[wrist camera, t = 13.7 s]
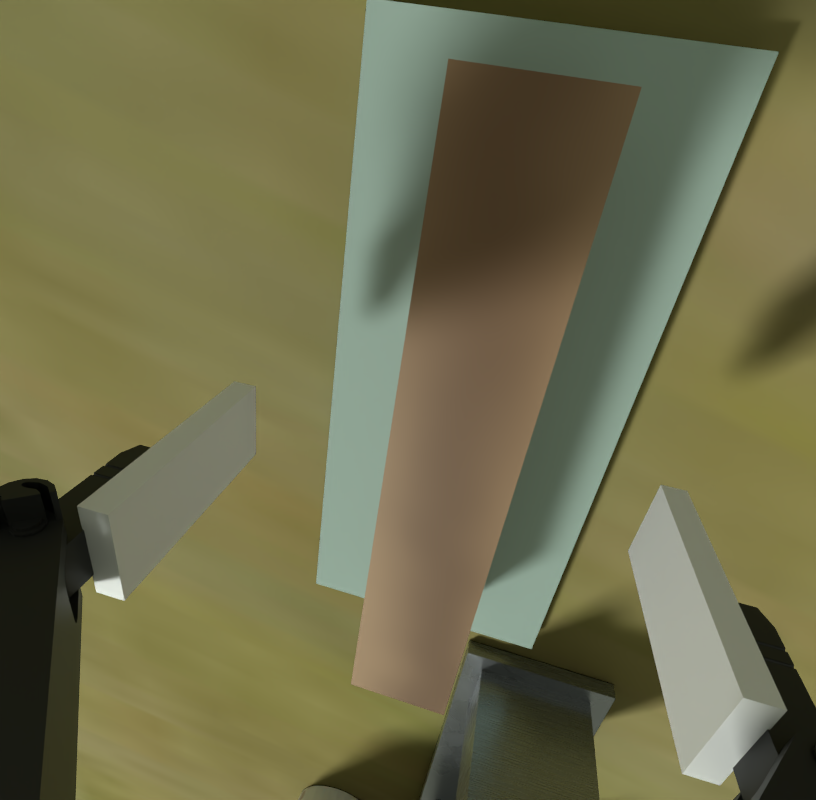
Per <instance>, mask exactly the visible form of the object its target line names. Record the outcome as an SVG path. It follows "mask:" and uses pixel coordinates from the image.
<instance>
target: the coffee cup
mask: <svg viewBox="0 0 816 800" xmlns="http://www.w3.org/2000/svg"><path fill="white" fill-rule="evenodd" d="M298 800H358V799H356V798H355V797H353V796H352V795H350V794H348V793H346V792H343V791H341V790H339V789H335V788H332V787H327V786H311V787H307V788H306V789H304V790H303V791H302V793H301V795H300V797H299V799H298Z"/></svg>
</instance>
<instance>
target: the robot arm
mask: <svg viewBox="0 0 816 800" xmlns="http://www.w3.org/2000/svg"><path fill="white" fill-rule="evenodd" d="M255 454H256V386H252V385H248V384H244V383H239V382H235V381H234V382H233V383H232V384H231V385H229V386H228V387H227V388H225V389H224V390H223V391H222V392H220V393H219V394H218V395H217V396H215V397H214V398H213V399H212V400H210V401H209V402H208V403H207V404H205V405H204V406H203V407H201V408H200V409H199V410H198V411H196V412H195V413H194V414H193V415H191V416H190V417H189V418H188V419H186V420H185V421H184V422H182V423H181V424H180V425H179V426H177V427H176V428H175V429H174V430H172V431H171V432H170V433H169V434H167V435H166V436H165V437H164V438H162V439H161V440H160V441H158V442H157V443H156V444H155V445H153V446H152V447H151V448H150V447H146V446H143V445H139V446H136V447H134V448H131V449H129V450H126V451H124V452H121V453H120V454H118V455H117V456H116V457H114V458H113V459H112V460H110V461H109V462H108V463H106V466H102V467H101V468H100V469H98V470H97V471H96V472H94V475H90V476H89V477H88V478H86V479H85V480H84V481H82V482H81V483H80V484H78V485H77V486H76V487H74V488H73V489H72V490H70V491H69V492H68V493H66V494H65V495H64V496H62V497H61V498H59V499H58V496H57V492H56V489H55V485H54V484H52V483H51V482H49V481H48V480H43V479H38V478H33V479H21V480H17V481H13V482H9V483H7V484H4V485H2V486H0V800H75V795H76V766H77V737H78V708H79V680H80V651H81V622H82V593H81V589H80V587H81V586H82V585H83V584H84V583H85V582H87V581H88V580H89V579H90V578H91V577H92V576H93V579H94V584H95V588H96V592H98V593H101V594H104V595H107V596H111V597H114V598H117V599H120V600H123V601H125V600H126V599H127V597H128V596H129V595H130V594H131V593H132V592H133V591H134V590H135V588H136V587H137V586H138V585H139V584H140V583H141V582H142V581H143V580H144V578H145V577H146V576H147V575H148V574H149V573H150V572H151V571H152V569H153V568H154V567H155V566H156V565H157V564H158V563H159V562H160V561H161V559H162V558H163V557H164V556H165V555H166V554H167V553H168V552H169V550H170V549H171V548H172V547H173V546H174V545H175V544H176V543H177V542H178V540H179V539H180V538H181V537H182V536H183V535H184V534H185V533H186V531H187V530H188V529H189V528H190V527H191V526H192V525H193V524H194V523H195V521H196V520H197V519H198V518H199V517H200V516H201V515H202V514H203V512H204V511H205V510H206V509H207V508H208V507H209V506H210V505H211V504H212V502H213V501H214V500H215V499H216V498H217V497H218V496H219V495H220V493H221V492H222V491H223V490H224V489H225V488H226V487H227V486H228V485H229V483H230V482H231V481H232V480H233V479H234V478H235V477H236V476H237V474H238V473H239V472H240V471H241V470H242V469H243V468H244V467H245V466H246V464H247V463H248V462H249V461H250V460H251V459H252V458H253V457H254V455H255ZM628 552H629V556H630V560H631V565H632V569H633V573H634V577H635V581H636V585H637V589H638V594H639V598H640V602H641V606H642V610H643V614H644V618H645V622H646V627H647V631H648V635H649V639H650V643H651V647H652V651H653V655H654V660H655V664H656V668H657V672H658V676H659V680H660V684H661V688H662V693H663V697H664V701H665V705H666V709H667V713H668V717H669V721H670V726H671V730H672V734H673V738H674V742H675V746H676V750H677V754H678V759H679V763H680V767H681V771H682V774H685V775H688V776H691V777H694V778H698V779H701V780H704V781H707V782H711V783H714V784H717V785H721V784H722V783H723V782H724V780H725V779H726V778H727V777H728V776H729V775H730V774H731V773H732V772H733V770H734V773H735V776H736V779H737V782H738V785H739V789H740V793H739V794H738V795H737V796H736V797H735V798H734V799H733V800H816V707H815V705H814V703H813V702H812V700H811V698H810V696H809V694H808V692H807V690H806V688H805V686H804V684H803V682H802V680H801V678H800V676H799V674H798V672H797V670H796V669H794V664H793V662H792V660H791V658H790V656H789V654H788V652H785V647H784V645H783V643H782V641H781V639H780V637H779V635H778V633H777V631H776V629H775V627H774V626H773V625H772V624H771V623H770V622H769V621H768V619H767V618H766V617H765V616H764V615H763V614H762V613H761V612H760V610H759V609H758V608H756V607H753V606H749V605H745V604H741V603H738V601H737V599H736V597H735V595H734V593H733V590H732V588H731V586H730V584H729V582H728V579H727V577H726V575H725V573H724V571H723V569H722V566H721V564H720V562H719V560H718V558H717V555H716V553H715V551H714V549H713V547H712V544H711V542H710V540H709V538H708V536H707V533H706V531H705V529H704V527H703V525H702V522H701V520H700V518H699V516H698V514H697V511H696V509H695V507H694V505H693V503H692V501H691V498H690V496H689V494H688V492H687V491H685V490H681V489H676V488H672V487H668V486H664V485H660V487H659V489H658V492H657V494H656V496H655V498H654V500H653V502H652V504H651V506H650V508H649V510H648V512H647V514H646V516H645V518H644V520H643V522H642V524H641V526H640V528H639V530H638V532H637V534H636V536H635V538H634V540H633V542H632V544H631V546H630V548H629V550H628Z"/></svg>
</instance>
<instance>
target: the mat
mask: <svg viewBox="0 0 816 800" xmlns="http://www.w3.org/2000/svg"><path fill="white" fill-rule="evenodd" d="M778 53H779V52H777V51H769V50H761V49H754V48H746V47H739V46H731V45H723V44H716V43H708V42H701V41H693V40H685V39H678V38H670V37H663V36H655V35H647V34H640V33H632V32H624V31H617V30H609V29H602V28H594V27H586V26H579V25H571V24H564V23H556V22H548V21H541V20H533V19H526V18H518V17H510V16H503V15H495V14H488V13H480V12H472V11H465V10H457V9H449V8H442V7H434V6H427V5H419V4H411V3H404V2H396V1H389V0H367V4H366V16H365V27H364V39H363V50H362V62H361V73H360V85H359V96H358V108H357V119H356V131H355V142H354V154H353V165H352V177H351V188H350V200H349V211H348V223H347V234H346V246H345V257H344V269H343V280H342V292H341V304H340V315H339V327H338V338H337V350H336V361H335V373H334V384H333V396H332V407H331V419H330V430H329V442H328V453H327V465H326V476H325V488H324V499H323V511H322V522H321V534H320V545H319V557H318V568H317V580H316V583H317V584H320V585H323V586H326V587H330V588H333V589H336V590H340V591H343V592H346V593H349V594H353V595H356V596H359V597H362V598H365V592H366V585H367V579H368V572H369V566H370V559H371V553H372V547H373V540H374V534H375V527H376V521H377V514H378V508H379V502H380V495H381V489H382V482H383V476H384V469H385V463H386V457H387V450H388V444H389V437H390V431H391V424H392V418H393V411H394V405H395V399H396V392H397V386H398V379H399V373H400V366H401V360H402V354H403V347H404V341H405V334H406V328H407V321H408V315H409V309H410V302H411V296H412V289H413V283H414V276H415V270H416V264H417V257H418V251H419V244H420V238H421V231H422V225H423V218H424V212H425V206H426V199H427V193H428V186H429V180H430V173H431V167H432V161H433V154H434V148H435V141H436V135H437V128H438V122H439V116H440V109H441V103H442V96H443V90H444V83H445V77H446V71H447V64H448V59H454V60H461V61H468V62H475V63H482V64H489V65H496V66H502V67H509V68H516V69H523V70H530V71H537V72H544V73H550V74H557V75H564V76H571V77H578V78H585V79H592V80H598V81H605V82H612V83H619V84H626V85H633V86H639V87H642V88H641V91H640V94H639V98H638V101H637V104H636V107H635V110H634V113H633V117H632V120H631V123H630V126H629V129H628V132H627V136H626V139H625V142H624V145H623V148H622V151H621V155H620V158H619V161H618V164H617V167H616V170H615V174H614V177H613V180H612V183H611V186H610V189H609V193H608V196H607V199H606V202H605V205H604V208H603V212H602V215H601V218H600V221H599V224H598V227H597V231H596V234H595V237H594V240H593V243H592V247H591V250H590V253H589V256H588V259H587V262H586V266H585V269H584V272H583V275H582V278H581V281H580V285H579V288H578V291H577V294H576V297H575V300H574V304H573V307H572V310H571V313H570V316H569V319H568V323H567V326H566V329H565V332H564V335H563V338H562V342H561V345H560V348H559V351H558V354H557V357H556V361H555V364H554V367H553V370H552V373H551V376H550V380H549V383H548V386H547V389H546V392H545V396H544V399H543V402H542V405H541V408H540V411H539V415H538V418H537V421H536V424H535V427H534V430H533V434H532V437H531V440H530V443H529V446H528V449H527V453H526V456H525V459H524V462H523V465H522V468H521V472H520V475H519V478H518V481H517V484H516V487H515V491H514V494H513V497H512V500H511V503H510V506H509V510H508V513H507V516H506V519H505V522H504V525H503V529H502V532H501V535H500V538H499V541H498V545H497V548H496V551H495V554H494V557H493V560H492V564H491V567H490V570H489V573H488V576H487V579H486V583H485V586H484V589H483V592H482V595H481V598H480V602H479V605H478V608H477V611H476V614H475V617H474V621H473V624H472V627H471V630H470V631H473V632H477V633H480V634H483V635H486V636H490V637H493V638H496V639H499V640H503V641H506V642H509V643H513V644H516V645H519V646H522V647H526V648H529V649H532V647H533V644H534V642H535V639H536V637H537V635H538V632H539V630H540V627H541V625H542V623H543V620H544V618H545V615H546V613H547V611H548V608H549V606H550V603H551V601H552V598H553V596H554V594H555V591H556V589H557V586H558V584H559V582H560V579H561V577H562V574H563V572H564V570H565V567H566V565H567V562H568V560H569V557H570V555H571V553H572V550H573V548H574V545H575V543H576V541H577V538H578V536H579V533H580V531H581V528H582V526H583V524H584V521H585V519H586V516H587V514H588V512H589V509H590V507H591V504H592V502H593V500H594V497H595V495H596V492H597V490H598V487H599V485H600V483H601V480H602V478H603V475H604V473H605V471H606V468H607V466H608V463H609V461H610V459H611V456H612V454H613V451H614V449H615V446H616V444H617V442H618V439H619V437H620V434H621V432H622V430H623V427H624V425H625V422H626V420H627V417H628V415H629V413H630V410H631V408H632V405H633V403H634V401H635V398H636V396H637V393H638V391H639V389H640V386H641V384H642V381H643V379H644V376H645V374H646V372H647V369H648V367H649V364H650V362H651V360H652V357H653V355H654V352H655V350H656V347H657V345H658V343H659V340H660V338H661V335H662V333H663V331H664V328H665V326H666V323H667V321H668V319H669V316H670V314H671V311H672V309H673V306H674V304H675V302H676V299H677V297H678V294H679V292H680V290H681V287H682V285H683V282H684V280H685V278H686V275H687V273H688V270H689V268H690V265H691V263H692V261H693V258H694V256H695V253H696V251H697V249H698V246H699V244H700V241H701V239H702V236H703V234H704V232H705V229H706V227H707V224H708V222H709V220H710V217H711V215H712V212H713V210H714V208H715V205H716V203H717V200H718V198H719V195H720V193H721V191H722V188H723V186H724V183H725V181H726V179H727V176H728V174H729V171H730V169H731V166H732V164H733V162H734V159H735V157H736V154H737V152H738V150H739V147H740V145H741V142H742V140H743V138H744V135H745V133H746V130H747V128H748V125H749V123H750V121H751V118H752V116H753V113H754V111H755V109H756V106H757V104H758V101H759V99H760V97H761V94H762V92H763V89H764V87H765V84H766V82H767V80H768V77H769V75H770V72H771V70H772V68H773V65H774V63H775V60H776V58H777V55H778Z"/></svg>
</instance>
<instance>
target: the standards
mask: <svg viewBox="0 0 816 800" xmlns="http://www.w3.org/2000/svg"><path fill="white" fill-rule="evenodd" d="M614 700H615V692H614V685H613V684H609V683H606V682H603V681H600V680H597V679H593V678H590V677H587V676H584V675H580V674H577V673H574V672H571V671H567V670H564V669H561V668H558V667H554V666H551V665H548V664H545V663H542V662H538V661H535V660H532V659H529V658H525V657H522V656H519V655H516V654H512V653H509V652H506V651H503V650H499V649H496V648H493V647H490V646H487V645H483V644H480V643H477V642H474V641H469V644H468V647H467V650H466V653H465V656H464V660H463V663H462V666H461V669H460V672H459V675H458V678H457V682H456V685H455V688H454V691H453V694H452V697H451V700H450V704H449V707H448V710H447V713H446V716H445V719H444V722H443V725H442V729H441V732H440V735H439V738H438V741H437V744H436V747H435V751H434V754H433V757H432V760H431V763H430V766H429V769H428V773H427V776H426V779H425V782H424V785H423V788H422V791H421V795H420V798H419V800H599V791H598V780H597V769H596V759H595V748H594V738H593V736H594V735H595V733H596V731H597V730H598V728H599V726H600V724H601V723H602V721H603V719H604V718H605V716H606V714H607V712H608V711H609V709H610V707H611V705H612V704H613V702H614Z"/></svg>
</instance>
